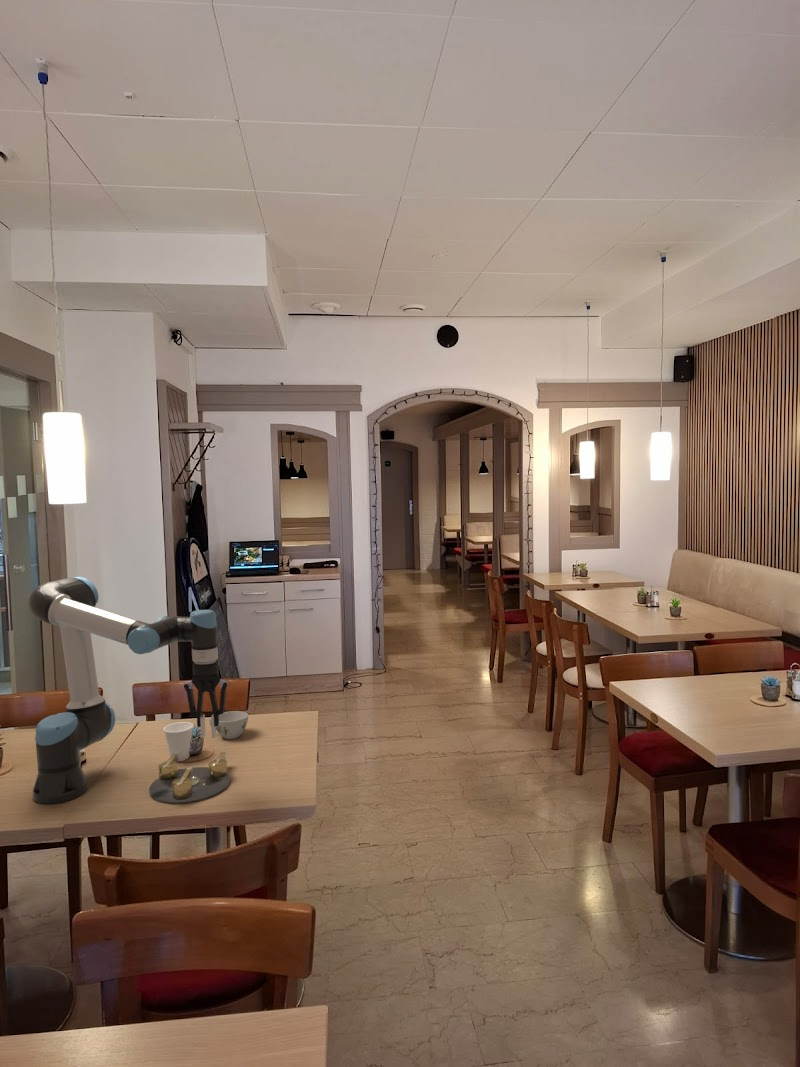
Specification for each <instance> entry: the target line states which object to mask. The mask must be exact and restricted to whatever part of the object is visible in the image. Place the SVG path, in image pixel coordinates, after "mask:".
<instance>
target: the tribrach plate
mask: <svg viewBox="0 0 800 1067" xmlns="http://www.w3.org/2000/svg"><path fill="white" fill-rule="evenodd" d="M186 769H187V768H183V769H177V771H178V777H177V778H175V779H173V780H169V781H162V780H160V779H159V777H158V778H156V779H155V780H154V781H153V782H152V783H151V784H150V785H149V789H148V792H149V793H148V794H149V796H150V798H152V799H153V800H154V801H156V802H160V803H164V804H170V805H175V804H179V805H180V804H182V805H184V804H190V803H196V802H200V801H204V800H208V799H210V798H214V797H215V796H217V795H219V794H221V793H223V792H224V791H225V790H226V789H227V788H229V785H230V783H231V782H230V775H229V773H227V775H226V776H225V777H222V778H218V779H214V778H210V777H209V766H207V767H206V766H197V767H196V766H195V767H193V776H192V778H191V780H192V795H191V796H190V797H188V798H185V799H175V798H173V793H172V782H173V781H175V780H177V779H180V778H182V776H183V774H184V773H185V771H186Z"/></svg>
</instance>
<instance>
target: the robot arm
mask: <svg viewBox="0 0 800 1067" xmlns="http://www.w3.org/2000/svg"><path fill="white" fill-rule="evenodd" d="M98 602H99V592H98V589H97V587H96V585H95V584H94V582H92V581H91V580H89V579H88V578H85V577H82V576H73V577H66V578H60V579H56V580H53V581H47V582H43V583H41V584H38V586H36V587H35V588H33V590H32V591H31V593H30V595H29V598H28V609H29V610H30V613H31V614H32V615H33V616H34V617H35V618H36V619H37V620H38V621H41V622H43V623H47V624H49V625H53V626H55V627H56V626H57V627H59V629H60V637H61V642H62V649H63V650H62V651H63V657H64V665H65V669H66V672H65V673H66V677H67V679H66V680H67V684H68V685H67V686H68V692H69V699H70V700H69V702H68V703H67V704H66V706H65V708H66V711H65V712H58V713H56V714H52V715H49V716H47V717H44V718H43V719H41V720H40V721H39V722H38V723H37V725H36V727H35V735H34V736H35V737H34V740H35V749H36V759H37V760H36V761H37V775H36V778H35V781H34V782H35V783H34V786H33V789H32V798H33V799H32V800H33V801H34V802H36V803H39V804H45V805H50V804H51V805H52V804H58V803H64V802H68V801H71V800H74V799H76V798H78V797H80V796H82V795H83V794H85V793H86V792H87V790H88V788H89V787H88V786H89V785H88V779H87V777H86V774H85V773H84V770H83V769H82V768H83V767H82V766H81V760H80V759H81V758H80V751H82V750H84V749H86V748H88V747H90V746H92V745H93V744H95V743H98V742H100V741H102V740H104V738H106V737H107V736H109V735H110V734H111V732H112V731H113V729H114V728H115V724H116V714H115V710H114V709H113V708H112V707H111V705H110V704H109V703H108V702H106V699H105V697H103V696H102V695H100V690H99V684H98V677H97V670H96V662H95V656H94V655H95V654H94V648H93V641H92V634H93V635H96V636H99V637H102V638H105V639H109V640H112V641H115V642H117V643H121V644H124V645H127V646H128V648H129V649H130V650H131V651H132V653H135V654H136V655H144V654H149V653H152V652H155V651H156V650H158V649H161V648H163V647H165V646H168V645H171V644H173V643H176V642H185V643H186V642H189V643H190V642H191V657H192V662H193V663H192V678H191V680H190V681H186V682H185V683H184V685H183V688H184V690H185V692H186V696H187V702H188V707H189V714H190V715H191V716H195V717H196V726H197V728H200V739H204V738H205V737H206V717H205V716H206V715H205V714H203V710H204V709H203V706H204V694H205V693H206V692H207V693H208V695H209V699H210V704H211V709H212V715H211V717H210V718H211V726H210V728H211V739H215V738H216V736H217V730H216V726H218V725H219V715H220V714H223V713H224V712H226V711H225V709H226V698H227V689H228V685H229V680H224V679H222V678H221V676H220V674H219V671H220V670H219V661H218V659H219V652H218V650H219V648H218V635H217V634H218V633H217V630H218V629H217V628H218V627H217V626H218V624H217V615H216V612H215V611H214V610H212V609H198V610H193V611H191V612H190V614H189V616H179V615H178V616H175V615H174V616H173V615H164V616H159V617H157V618H156V620H154V622H153V623H148V622H144V621H141V620H137V619H134V618H132V617H129V616H128V617H127V616H125V615H122V614H118V613H115V612H112V611H110V610H109V611H108V610H107V609H102V608H99V607H97V604H98ZM218 685H219V687H220V697H219V704H218V699H217V693H216V692H217V691H216V688H217V686H218ZM194 687H195V689H197V704H196V702H195V695H194V689H193V688H194ZM196 705H197V706H196Z"/></svg>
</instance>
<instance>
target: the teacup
mask: <svg viewBox="0 0 800 1067" xmlns="http://www.w3.org/2000/svg"><path fill="white" fill-rule="evenodd" d="M248 719H249V714H248V713H247V712H245V711H241V710H235V711H234V710H231V711H224V712H223V714H220V715H219V725H218V726H216V732H217V733H218V734H219V735H220V736H222V738H224V739H226V740H235V739H238V738H239V737H240V736H241V735H242V734H243V732H244V731H245V729H246V727H247V725H248V721H249V720H248ZM209 726H210V727H211V717H210V718H209Z"/></svg>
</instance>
